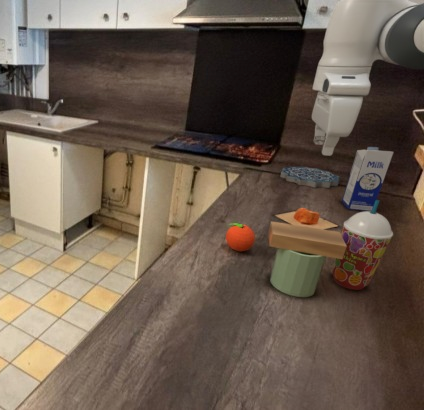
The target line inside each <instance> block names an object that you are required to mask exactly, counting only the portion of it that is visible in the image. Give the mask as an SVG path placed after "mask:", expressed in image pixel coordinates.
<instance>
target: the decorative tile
mask: <svg viewBox="0 0 424 410" xmlns="http://www.w3.org/2000/svg"><path fill="white" fill-rule="evenodd" d="M279 177H280V178H282V179H285V181H286V182H290V183H294V184H297V185H298V186H308V187H310V188H314V189H316V188H326V189H330V187H338V185H339V182H340V175H337V174H333V173H332V171H328V170H323V169H320V168H316V167H315V168H314V167H307V166H293V165H291V166H290V167H283V168H282V170H281V172H280V176H279Z"/></svg>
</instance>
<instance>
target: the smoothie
mask: <svg viewBox="0 0 424 410" xmlns="http://www.w3.org/2000/svg"><path fill="white" fill-rule="evenodd" d="M379 203H380V199H379V200H378V199H377V200H376V201H375V204H374V206H373V209H372V212H371V211H360V212H356V213H354V214H353V215H351V216H350V217H349V218H348V219H347V220H345V221H344V222H343V226H342V230H341V233H340V234H341V236H342V238H343V240H344V242H345V244H346V246H347V247H346V250H345V253H344V256H343V259H337V258H334V262H333V267H332V272H331V273H332V276H333V280H334V281H335V282H336V283H337V285H340V286H341V287H343V288H346V289H349V290H355V291H359V290H363V289H364V288H366V287H367V286H369V284H371V280H372V279H373V277H374V274H375V272H376V271H377V268H378V266H379V264H380V262H381V261H382V258H383V257H384V254H385V253H386V250H387V248H388V246H389V244H390V242H391V240H392V237H393V236H394V232H393V230H392V227H391V223H390V221H389V220H388V219H387V218H386V217H385V216H384V215H382V214H380V213H378V212H377V210H378V207H379Z"/></svg>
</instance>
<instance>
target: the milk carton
mask: <svg viewBox="0 0 424 410" xmlns="http://www.w3.org/2000/svg"><path fill="white" fill-rule="evenodd" d="M379 149H380V148H379V147H377V146H367V148H366V149H358V150H356V153H355V157H354V161H353V164H352V167H351V169H350V173H349V176H348V179H347V183H346V186H345V189H344V192H343V195H342V197H341V203H342V205H344V206H345V207H346V208H347V209H348V210H352V211H360V212H364V211H371V212H372V209H373V206H374V204H375V201H376V200H378V198H379V194H380V191H381V188H382V186H383V183H384V181H385V177H386V175H387V171H388V169H389V166H390V163H391V160H392V158H393V155H394V153H395V152H394V151H390V150H379Z"/></svg>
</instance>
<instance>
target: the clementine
mask: <svg viewBox="0 0 424 410" xmlns="http://www.w3.org/2000/svg"><path fill="white" fill-rule="evenodd" d="M231 225H232V226H231ZM228 226H231V227H229V228H228V230H227V231H226V235H225V241H226V244H227V245H228V247H229V248H231V249H232V250H234V251H236V252H245V251H248V250H249V249H251V248H252V247H253V246H254V244H255V242H256V235H255V232H254V231H253V229H252V228H251V227H250V226H248V225H246V224H242V223H237V222H236V223H235V222H234V223H233V222H232V223H229V224H228V225H226V226H225V228H224V229H226V228H227V227H228Z"/></svg>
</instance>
